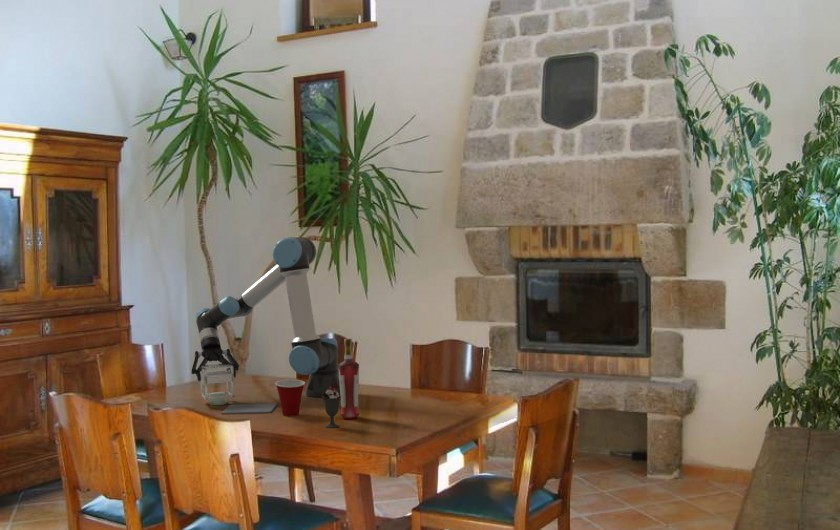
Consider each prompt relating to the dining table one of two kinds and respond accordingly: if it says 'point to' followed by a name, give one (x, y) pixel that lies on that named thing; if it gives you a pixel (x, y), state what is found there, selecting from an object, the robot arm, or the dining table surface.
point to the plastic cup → (290, 396)
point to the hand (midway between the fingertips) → (218, 385)
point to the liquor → (349, 383)
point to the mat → (249, 408)
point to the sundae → (331, 405)
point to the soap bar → (220, 400)
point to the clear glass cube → (217, 378)
